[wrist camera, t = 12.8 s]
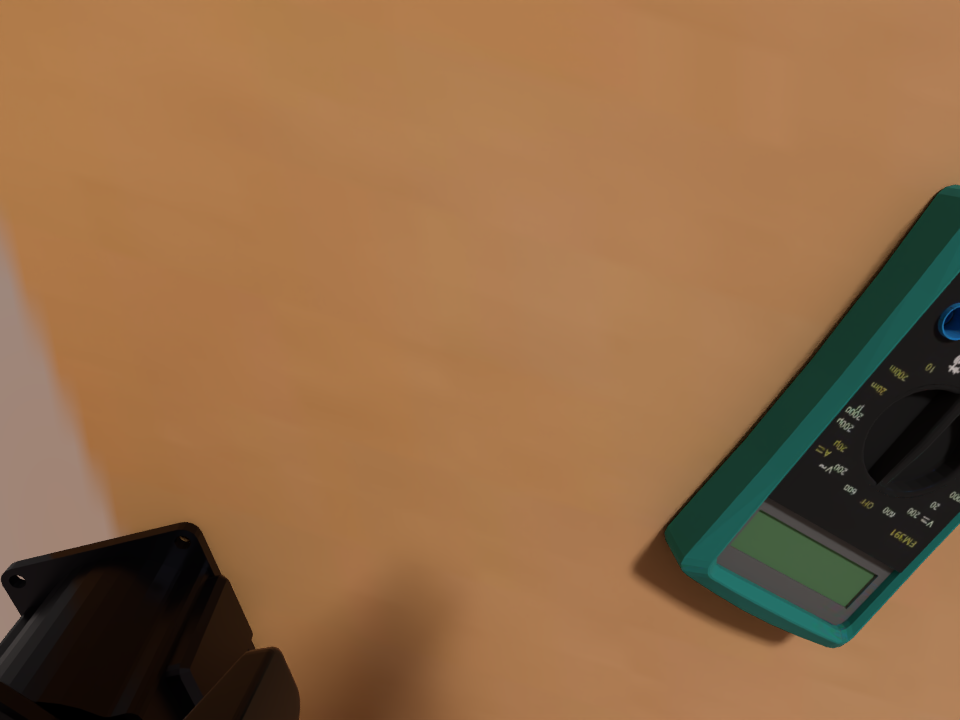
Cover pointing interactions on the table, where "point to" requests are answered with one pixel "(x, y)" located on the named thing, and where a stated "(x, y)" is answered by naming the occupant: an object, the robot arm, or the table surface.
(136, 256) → the table surface
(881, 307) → the digital multimeter
